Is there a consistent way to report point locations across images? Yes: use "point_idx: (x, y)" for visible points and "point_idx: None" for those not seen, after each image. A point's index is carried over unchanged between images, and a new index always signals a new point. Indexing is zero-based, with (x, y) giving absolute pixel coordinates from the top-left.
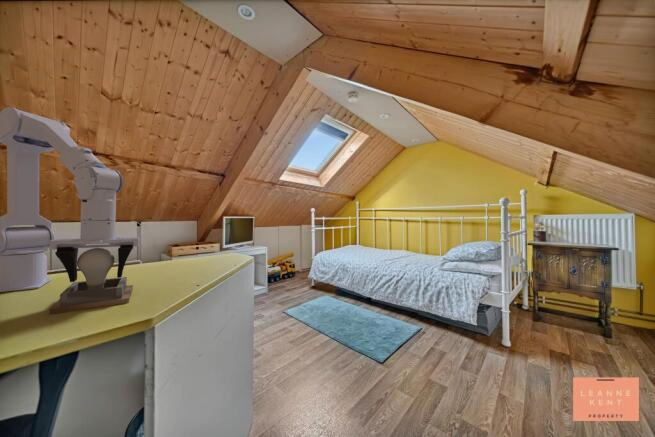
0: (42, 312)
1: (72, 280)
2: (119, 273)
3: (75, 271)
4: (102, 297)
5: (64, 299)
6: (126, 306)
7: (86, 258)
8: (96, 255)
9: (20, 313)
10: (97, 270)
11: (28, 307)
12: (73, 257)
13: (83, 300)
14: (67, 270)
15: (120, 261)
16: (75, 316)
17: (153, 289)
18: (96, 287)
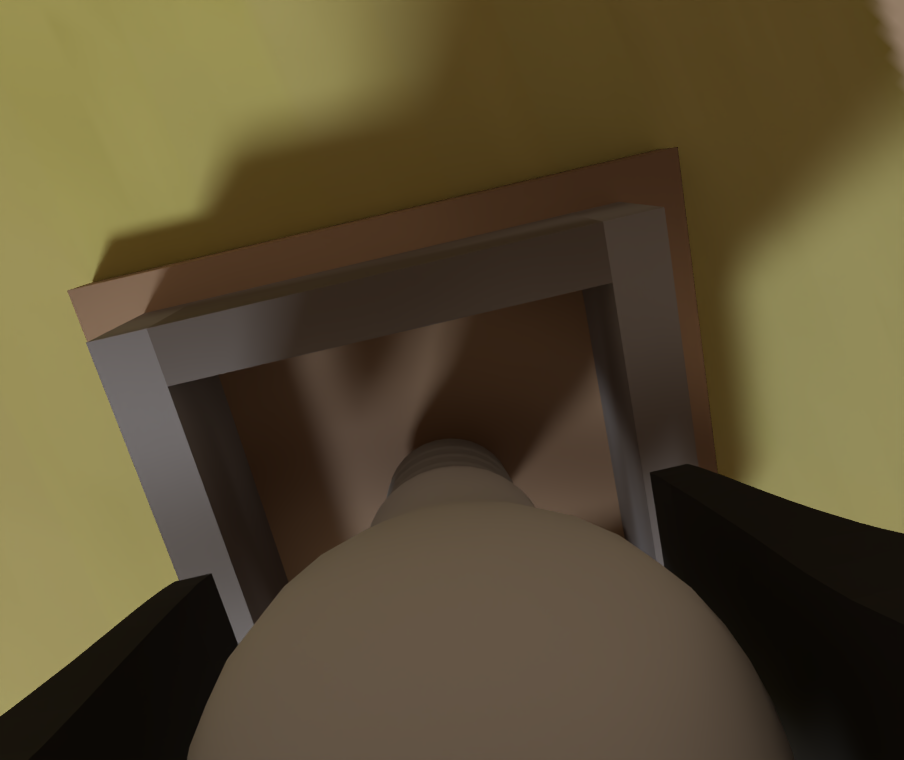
0: (732, 227)
1: (674, 474)
2: (159, 605)
3: (719, 615)
4: (297, 279)
5: (606, 214)
6: (57, 165)
7: (590, 648)
8: (391, 746)
9: (881, 256)
10: (382, 522)
11: (885, 398)
12: (893, 741)
13: (451, 243)
14: (802, 512)
15: (18, 739)
16: (412, 7)
17: (36, 650)
18: (424, 468)
